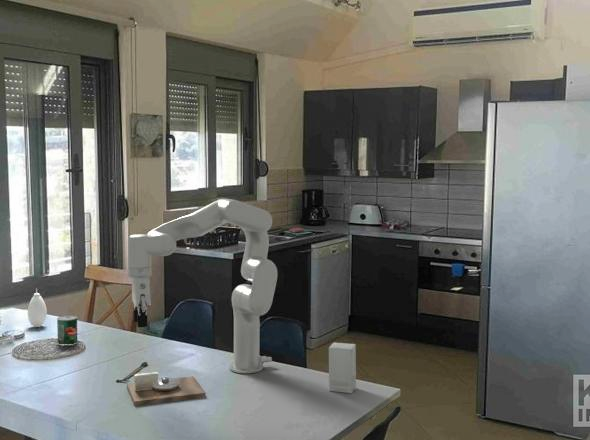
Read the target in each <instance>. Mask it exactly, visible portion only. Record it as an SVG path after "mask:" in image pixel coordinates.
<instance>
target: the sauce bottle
mask: <svg viewBox="0 0 590 440" xmlns="http://www.w3.org/2000/svg"><path fill="white" fill-rule="evenodd" d="M27 307H28V309H27V318H28V319H27V320H28V322H29V323H30V325H31V326H33V327H34V328H36V327H39V328H40V327H42V326H43V325H44V324H45V322H46V320H47V315H48V313H47V312H48V310H47V306H46V302H45V301H44V298H43V297H42V296H41V293H38V287H36V288H35V293H33V295H32V297H31V300H30V302H29V304H28V306H27Z"/></svg>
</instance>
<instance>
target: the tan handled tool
mask: <svg viewBox="0 0 590 440" xmlns="http://www.w3.org/2000/svg"><path fill="white" fill-rule="evenodd" d="M147 365H148V361H144V362H142V363H141V364H140V366H139V367H137V368H135V369H134V370H133V371H131V372H130V373H128V374H127V375H126V376H125V377H123V379H116V380H115V382H116V383H121V384H127V383H130V382H131V381H130V378H131V377H134V374H138V372H140V371H141V370H142V369H143V370H144V368H145V367H146V366H147Z"/></svg>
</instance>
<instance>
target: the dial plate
mask: <svg viewBox="0 0 590 440" xmlns="http://www.w3.org/2000/svg"><path fill="white" fill-rule="evenodd" d="M175 379H177V380H178V381H179V387H178V388H176V389H174V390H170V391H157V390H154V389H145V390H137V391H135V382H131V383H130V382H129V383H126V388H127V389H126V390H127V392H128V394H129V396H130V399H131V401H132V404H133V405H134V407H137V406H145V405H152V404H159V403H161V404H162V403H169V402H177V401H184V400H185V401H186V400H193V399H200V398H206V391H205V390H204V388H203V387H202V386H201V385H200V383H199V382H198V380H197V379H196V377H194V375H191V376H184V377H176V378H175Z"/></svg>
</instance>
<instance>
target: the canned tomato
mask: <svg viewBox="0 0 590 440" xmlns="http://www.w3.org/2000/svg"><path fill="white" fill-rule="evenodd" d="M56 320H57V323H56V324H57V326H56V327H57V344H58V343H59V344H74V343H77V342H78V316H76V315H73V314H72V315H69V314H68V315H67V314H66V315H61V316H57V318H56ZM78 343H79V342H78ZM78 343H77V344H78Z"/></svg>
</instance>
